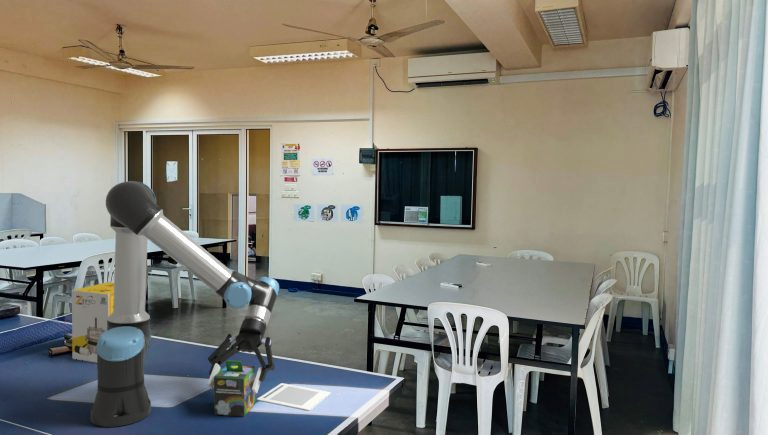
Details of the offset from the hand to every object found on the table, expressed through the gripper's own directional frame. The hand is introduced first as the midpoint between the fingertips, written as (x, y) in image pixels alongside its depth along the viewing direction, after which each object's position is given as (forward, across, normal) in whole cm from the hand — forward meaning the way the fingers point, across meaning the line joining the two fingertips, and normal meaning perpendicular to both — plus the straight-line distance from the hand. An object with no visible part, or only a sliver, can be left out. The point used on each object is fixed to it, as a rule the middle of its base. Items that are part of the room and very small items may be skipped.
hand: (232, 389), depth 152 cm
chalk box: (+4, 0, -6) cm, 7 cm away
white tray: (-6, -13, -15) cm, 21 cm away
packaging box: (-18, +66, -28) cm, 74 cm away
